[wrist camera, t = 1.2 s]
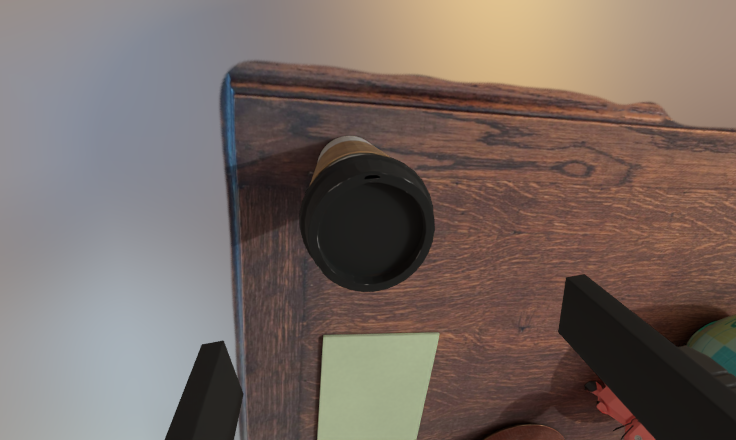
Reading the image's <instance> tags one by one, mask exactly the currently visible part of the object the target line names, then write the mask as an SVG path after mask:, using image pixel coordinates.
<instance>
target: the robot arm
mask: <svg viewBox="0 0 736 440" xmlns="http://www.w3.org/2000/svg"><path fill="white" fill-rule="evenodd" d="M558 332H559V333H560V335H561V336H562V337H563V338H564V339H565V340H566V341H567V342H568V343H569V345H570V346H571V347H572V348H573V349H574V350H575V351H576V352H577V353H578V354H579V356H580V357H581V358H582V359H583V360H584V361H585V362H586V363H587V364H588V366H589V367H590V368H591V369H592V370H593V371H594V372H595V373H596V374H597V375H598V377H599V378H600V379H601V380H602V381H603V382H604V383H605V384H606V385H607V387H608V388H609V389H610V390H611V391H612V392H613V393H614V394H615V395H616V396H617V398H618V399H619V400H620V401H621V402H622V403H623V404H624V405H625V406H626V408H627V409H628V410H629V411H630V412H631V413H632V414H633V415H634V416H635V417H636V419H637V420H638V421H639V422H640V423H641V424H642V425H643V426H644V427H645V428H646V430H647V431H648V432H649V433H650V434H651V435H652V436H653V437H654V438H655V440H736V377H735V376H734V375H733V374H731V373H730V374H729V373H728V372H727V370H726V369H725V368H723V367H722V366H721V365H719V364H718V363H717V362H715V361H714V360H713V359H711V358H710V357H709V356H707V355H705V354H703V353H701V352H699V351H697V350H695V349H693V348H691V347H689V346H681V347H677V346H675V345H674V344H673V343H671V342H670V341H669V340H668V339H666V338H665V337H664V336H663V335H661V334H660V333H659V332H657V331H656V330H655V329H654V328H652V327H651V326H650V325H649V324H647V323H646V322H645V321H643V320H642V319H641V318H640V317H638V316H637V315H636V314H635V313H633V312H632V311H631V310H629V309H628V308H627V307H626V306H624V305H623V304H622V303H621V302H619V301H618V300H617V299H615V298H614V297H613V296H612V295H610V294H609V293H608V292H606V291H605V290H604V289H603V288H601V287H600V286H599V285H598V284H596V283H595V282H594V281H592V280H591V279H590V278H589V277H587V276H586V275H585V274H583V275H578V276H572V277H567V278H566V282H565V289H564V296H563V302H562V309H561V316H560V323H559V330H558ZM242 398H243V392H242V389H241V386H240V384H239V381H238V378H237V375H236V373H235V370H234V367H233V365H232V362H231V359H230V356H229V354H228V351H227V348H226V346H225V343H224V341H218V342H213V343H208V344H202V346H201V348H200V351H199V353H198V356H197V358H196V361H195V363H194V366H193V369H192V371H191V374H190V376H189V379H188V381H187V384H186V386H185V389H184V392H183V394H182V397H181V399H180V402H179V404H178V407H177V410H176V412H175V415H174V417H173V420H172V422H171V425H170V427H169V430H168V433H167V435H166V438H165V440H234V436H235V431H236V427H237V422H238V417H239V413H240V408H241V403H242Z"/></svg>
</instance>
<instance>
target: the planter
mask: <svg viewBox="0 0 736 440" xmlns="http://www.w3.org/2000/svg"><path fill="white" fill-rule="evenodd" d="M481 440H565V439H564V437H563V436H562V435H561V434H560V433H559V432H558V431H556V430H555V429H553V428H551V427H548V426H544V425H539V424H519V425H513V426H510V427H506V428H503V429H500V430H498V431H496V432H493V433H491V434H490V435H488V436H486V437H484V438H483V439H481Z"/></svg>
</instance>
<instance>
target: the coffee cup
mask: <svg viewBox="0 0 736 440" xmlns="http://www.w3.org/2000/svg"><path fill="white" fill-rule="evenodd" d="M299 224H300V230H301V235H302V238H303V242H304V244H305V246H306V248H307V251H308V253H309V254H310V256H311V257H312V258H313V260H314V261H315V263H316V265H317V266H318V268H319V269H320V270H321V272H322V273H323V274H324V275H325V276H326V277H327V278H329V279H330V280H331V281H332V282H334V283H336V284H338V285H339V286H341V287H344V288H347V289H350V290H354V291H360V292H375V291H380V290H385V289H388V288H390V287H393V286H395V285H397V284H399V283H401V282H402V281H404V280H406V279H407V278H408V277H410V276H411V275H412V274H413V273H414V272H415V271H416V270H417V269H418V268H419V267H420V265H421V264H422V263H423V261H424V260H425V258H426V256H427V254H428V253H429V250H430V247H431V245H432V242H433V237H434V231H435V224H434V215H433V205H432V201H431V197H430V194H429V192H428V190H427V188H426V186H425V184H424V182H423V181H422V179H421V178H420V177H419V176H418V175H417V174H416V172H415V171H414V170H412V169H411V168H410V167H408V166H407V165H406V164H404V163H402V162H400V161H398V160H396V159H394V158H391V157H390V156H388V155H387V154H385V153H384V152H382V151H380V150H379V149H377V148H376V147H374V146H373V145H371V144H370V143H369V142H367V141H366V140H364V139H362V138H360V137H356V136H343V137H339V138H336V139H334V140H333V141H331V142H329V143H328V144H327V145H326V146H325V147H324V149H323V150H322V152H321V154H320V156H319V158H318V163H317V166H316V168H315V171H314V174H313V177H312V180H311V183H310V186H309V188H308V189H307V191H306V194H305V196H304V198H303V200H302V204H301V209H300V213H299Z"/></svg>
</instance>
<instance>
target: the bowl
mask: <svg viewBox="0 0 736 440" xmlns="http://www.w3.org/2000/svg"><path fill="white" fill-rule="evenodd" d="M687 346H689V347H691V348H693V349H695V350H697V351H699V352H701V353H703V354H705V355H707V356H709V357H710V358H711V359H713V360H714V361H715V362H717V363H718V364H719V365H721V366H722V367H723V368H725V369H726V370H727V372H728V373H729V374H730V373H731V374H733V375H734V376H735V377H736V315H732V316H729V317H726V318H723V319H721V320H719V321H714V322H712V323H709V324H707V325H705V326H704V327H702V328H701V329H699V330H698V331H697V332H696V333H695V334H694V335H693V336H692V337H691V338H690V340H689V341H688V343H687Z"/></svg>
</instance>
